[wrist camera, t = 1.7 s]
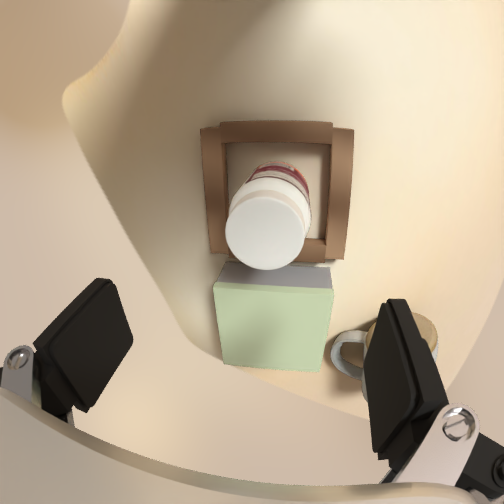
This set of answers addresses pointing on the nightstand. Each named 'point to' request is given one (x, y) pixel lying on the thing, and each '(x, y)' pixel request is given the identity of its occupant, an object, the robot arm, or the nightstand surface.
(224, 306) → the green square block
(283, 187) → the pill bottle
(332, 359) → the ceramic mug
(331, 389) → the nightstand surface
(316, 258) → the base
